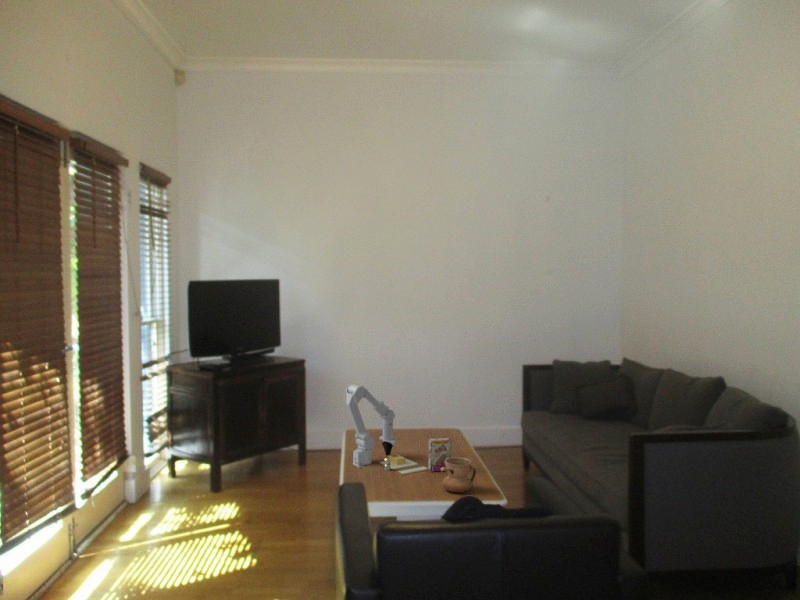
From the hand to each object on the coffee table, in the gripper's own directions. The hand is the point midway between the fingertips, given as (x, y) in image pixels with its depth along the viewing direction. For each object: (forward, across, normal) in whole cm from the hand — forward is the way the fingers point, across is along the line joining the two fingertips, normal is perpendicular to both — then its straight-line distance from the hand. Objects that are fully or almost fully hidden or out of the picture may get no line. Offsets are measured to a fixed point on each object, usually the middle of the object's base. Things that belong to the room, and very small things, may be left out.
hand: (387, 455), depth 372 cm
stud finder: (+2, -10, 0) cm, 10 cm away
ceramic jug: (+3, -61, -3) cm, 61 cm away
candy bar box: (+3, -31, -13) cm, 34 cm away
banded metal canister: (+2, -18, +11) cm, 21 cm away
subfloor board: (+3, -16, 0) cm, 16 cm away
